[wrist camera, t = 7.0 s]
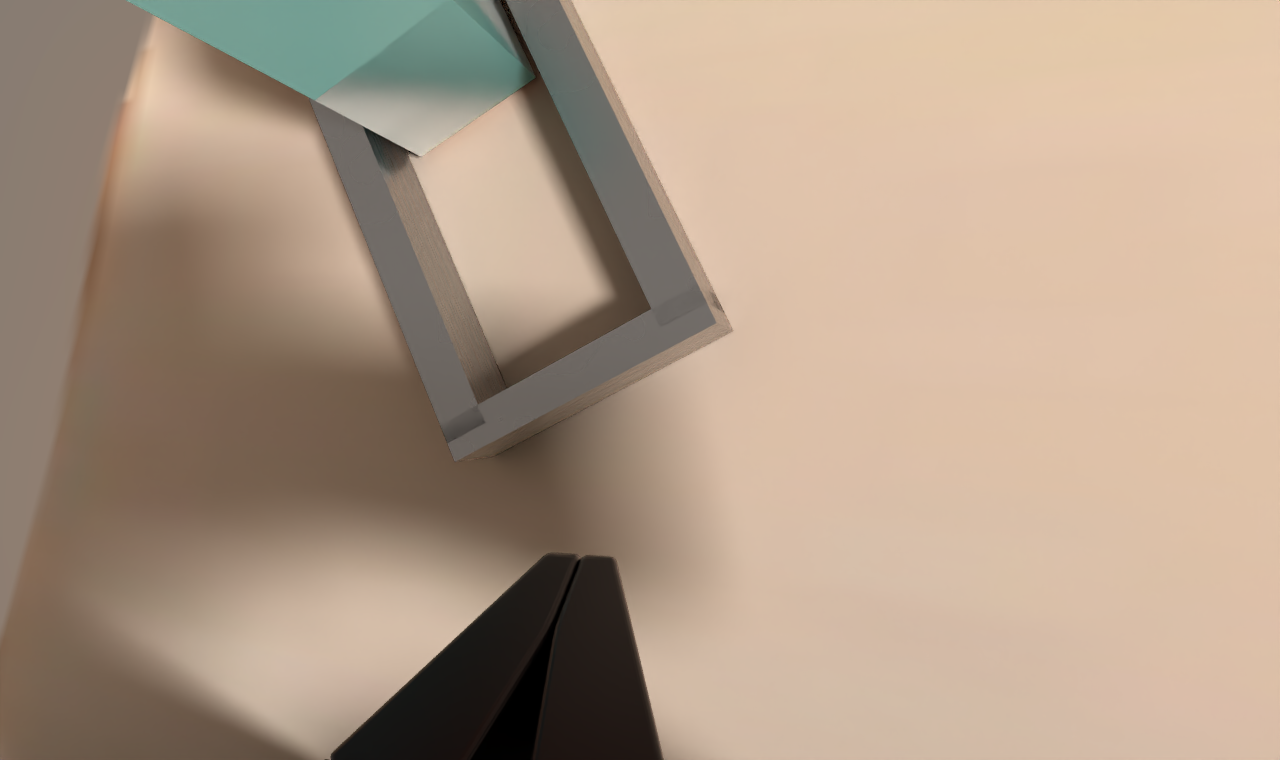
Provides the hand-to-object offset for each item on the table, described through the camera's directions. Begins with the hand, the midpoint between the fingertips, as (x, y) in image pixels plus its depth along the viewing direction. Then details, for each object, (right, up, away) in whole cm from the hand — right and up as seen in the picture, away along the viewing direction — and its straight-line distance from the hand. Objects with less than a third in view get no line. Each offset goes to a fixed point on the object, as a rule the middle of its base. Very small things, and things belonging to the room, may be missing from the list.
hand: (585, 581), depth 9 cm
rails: (-2, +7, +11) cm, 13 cm away
